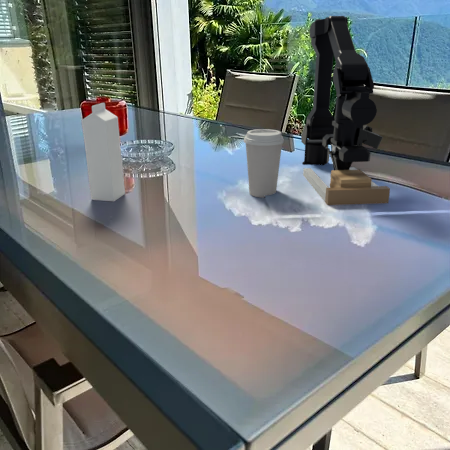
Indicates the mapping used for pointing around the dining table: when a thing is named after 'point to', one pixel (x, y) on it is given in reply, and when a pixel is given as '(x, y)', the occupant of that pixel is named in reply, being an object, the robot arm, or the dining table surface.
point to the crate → (349, 179)
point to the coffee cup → (263, 160)
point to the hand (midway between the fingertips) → (341, 181)
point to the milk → (103, 154)
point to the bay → (347, 191)
